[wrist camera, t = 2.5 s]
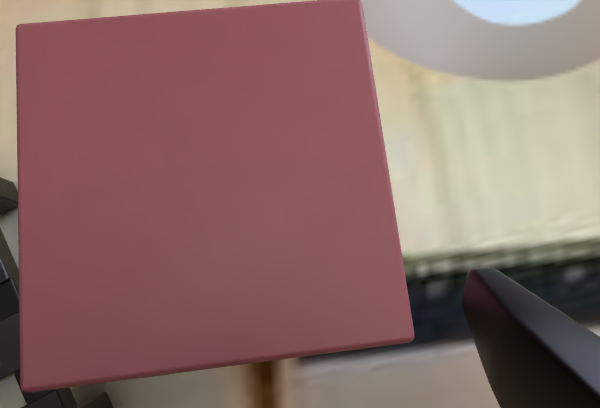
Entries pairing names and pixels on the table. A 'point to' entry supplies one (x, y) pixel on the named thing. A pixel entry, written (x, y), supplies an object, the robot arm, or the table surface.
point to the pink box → (201, 193)
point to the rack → (6, 324)
